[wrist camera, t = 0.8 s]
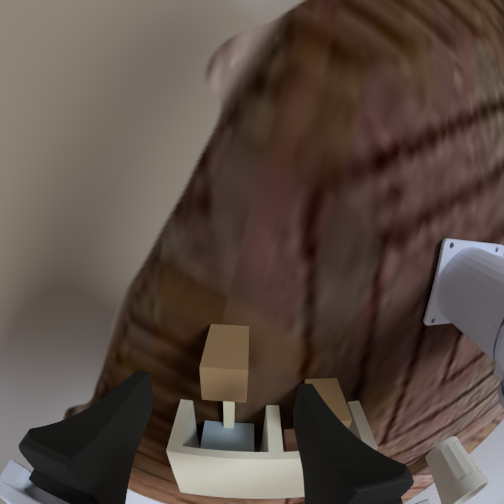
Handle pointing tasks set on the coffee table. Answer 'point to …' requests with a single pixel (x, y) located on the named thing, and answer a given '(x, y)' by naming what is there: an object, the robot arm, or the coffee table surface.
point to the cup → (454, 472)
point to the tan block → (332, 398)
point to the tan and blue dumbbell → (226, 386)
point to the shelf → (244, 459)
